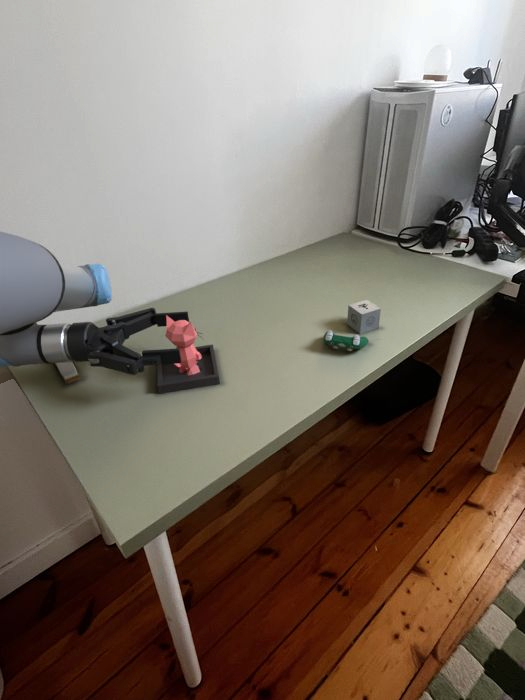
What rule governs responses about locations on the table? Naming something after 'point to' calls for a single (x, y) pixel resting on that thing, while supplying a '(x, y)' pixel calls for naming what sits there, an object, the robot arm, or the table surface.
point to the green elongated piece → (345, 341)
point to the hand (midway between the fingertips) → (184, 335)
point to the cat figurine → (184, 344)
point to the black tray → (179, 381)
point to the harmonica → (67, 372)
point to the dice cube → (363, 316)
